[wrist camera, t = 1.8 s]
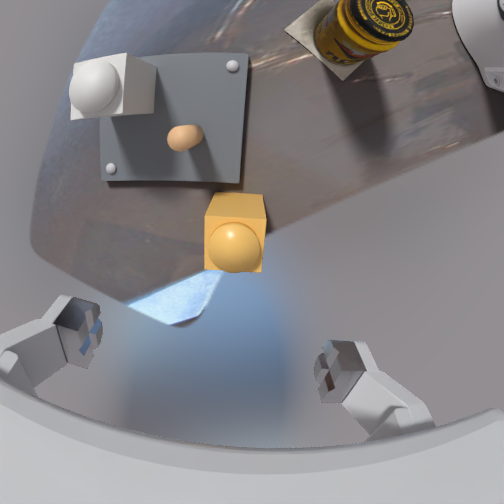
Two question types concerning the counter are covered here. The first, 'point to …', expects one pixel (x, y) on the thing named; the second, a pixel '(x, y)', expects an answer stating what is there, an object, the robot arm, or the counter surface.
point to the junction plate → (165, 114)
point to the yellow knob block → (235, 232)
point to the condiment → (352, 31)
